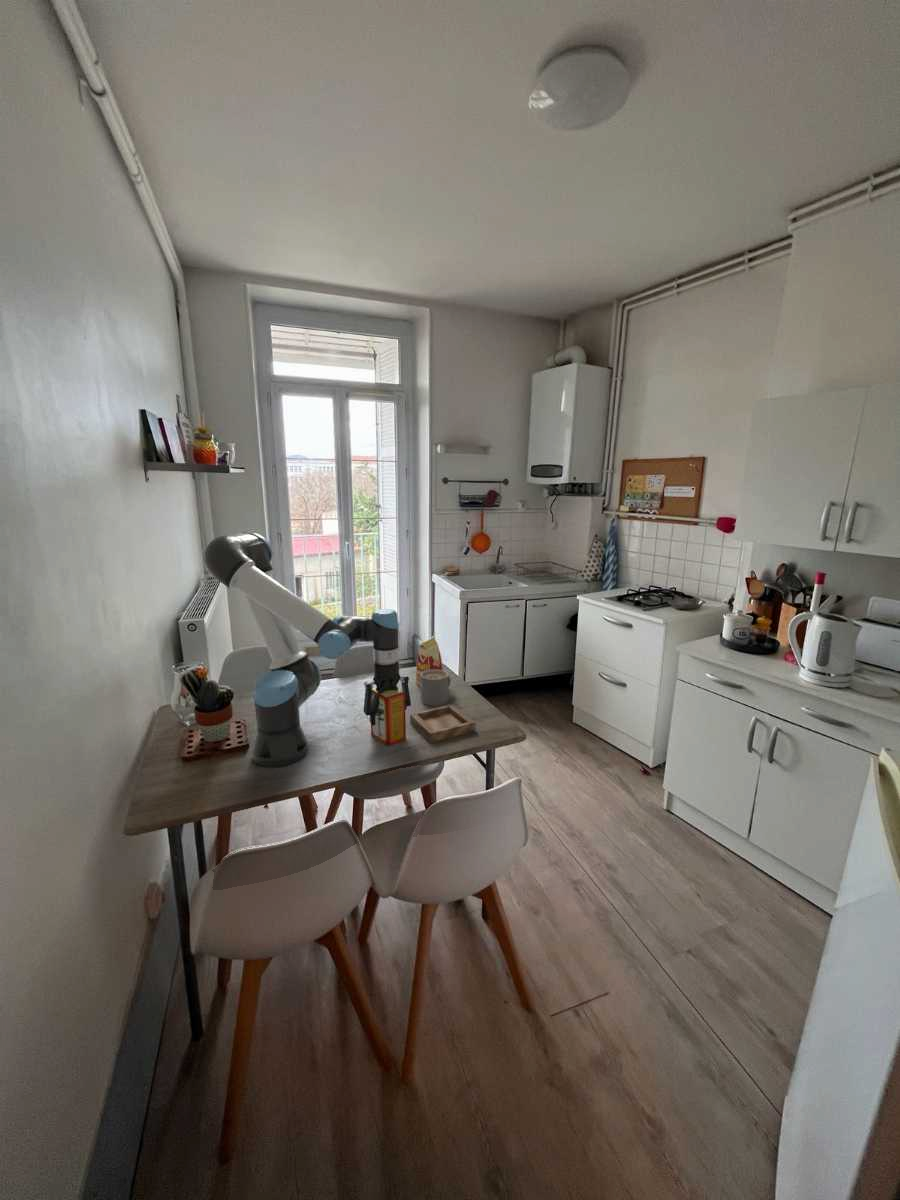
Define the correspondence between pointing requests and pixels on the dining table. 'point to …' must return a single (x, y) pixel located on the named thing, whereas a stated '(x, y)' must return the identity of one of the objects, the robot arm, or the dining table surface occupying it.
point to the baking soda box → (390, 716)
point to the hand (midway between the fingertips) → (388, 730)
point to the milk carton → (428, 658)
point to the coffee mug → (434, 687)
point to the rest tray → (442, 723)
